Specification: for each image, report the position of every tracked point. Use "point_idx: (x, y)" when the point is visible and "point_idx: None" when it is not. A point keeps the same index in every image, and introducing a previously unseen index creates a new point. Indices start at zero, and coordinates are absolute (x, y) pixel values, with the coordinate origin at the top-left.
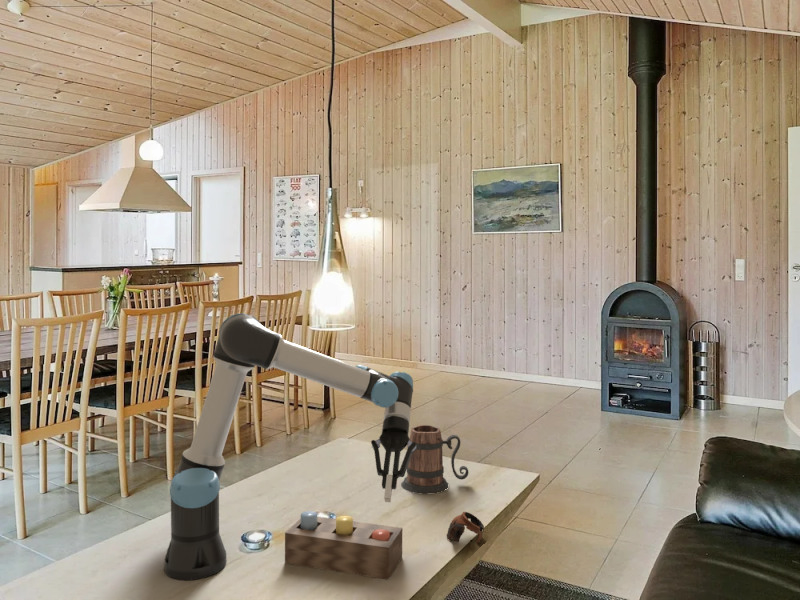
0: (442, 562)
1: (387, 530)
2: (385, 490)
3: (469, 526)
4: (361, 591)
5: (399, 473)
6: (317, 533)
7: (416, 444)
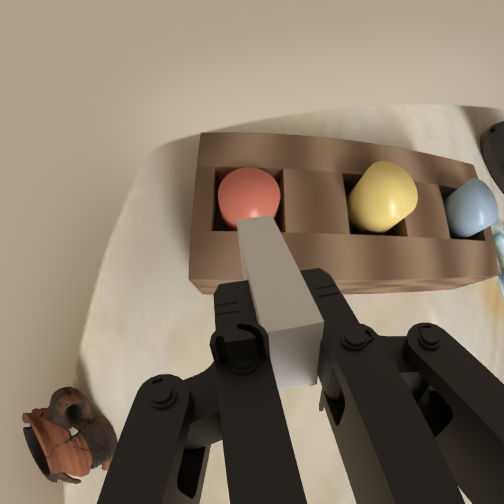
0: (99, 295)
1: (232, 218)
2: (279, 237)
3: (36, 414)
4: (251, 127)
5: (193, 388)
6: (423, 170)
7: None
